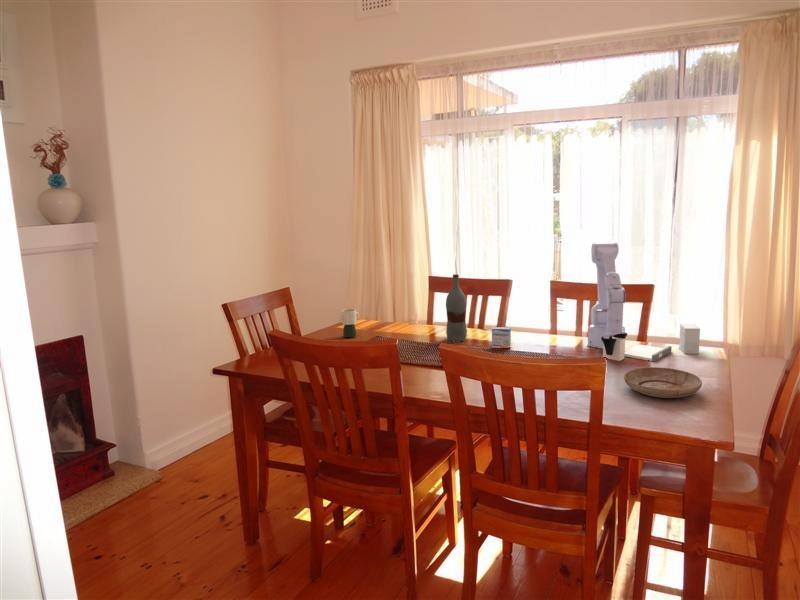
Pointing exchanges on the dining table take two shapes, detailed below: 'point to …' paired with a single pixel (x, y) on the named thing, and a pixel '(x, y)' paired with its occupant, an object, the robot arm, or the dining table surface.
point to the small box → (689, 338)
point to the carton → (616, 350)
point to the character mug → (349, 321)
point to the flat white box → (647, 352)
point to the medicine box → (501, 336)
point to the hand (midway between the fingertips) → (613, 352)
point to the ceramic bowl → (663, 382)
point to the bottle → (456, 313)
